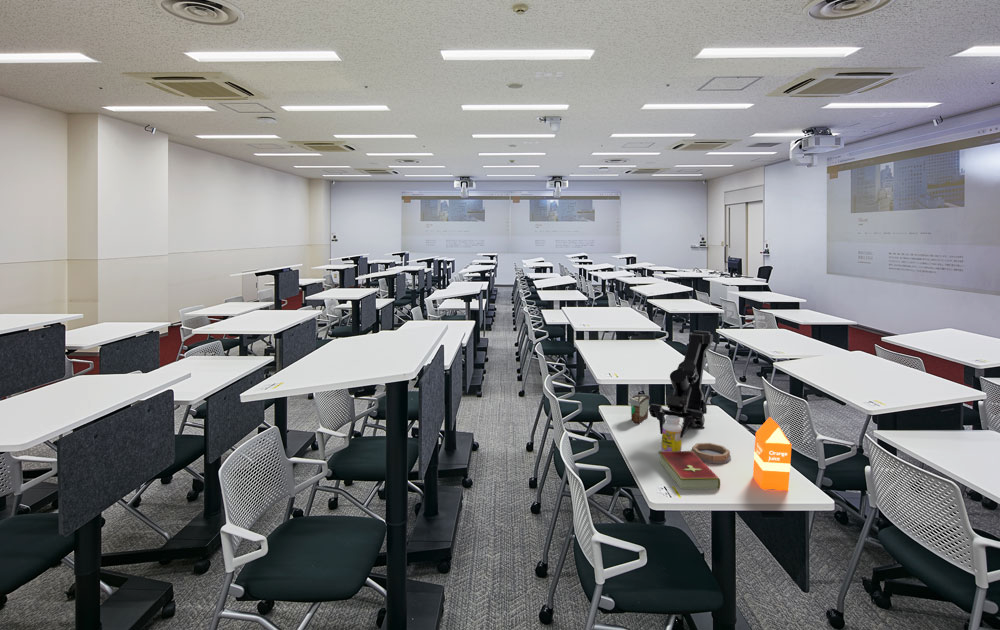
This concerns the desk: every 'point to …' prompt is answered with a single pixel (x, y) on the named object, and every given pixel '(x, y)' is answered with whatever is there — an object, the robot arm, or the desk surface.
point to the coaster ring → (712, 453)
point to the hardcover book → (689, 470)
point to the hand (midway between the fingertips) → (670, 435)
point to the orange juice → (772, 457)
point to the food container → (639, 407)
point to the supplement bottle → (671, 434)
